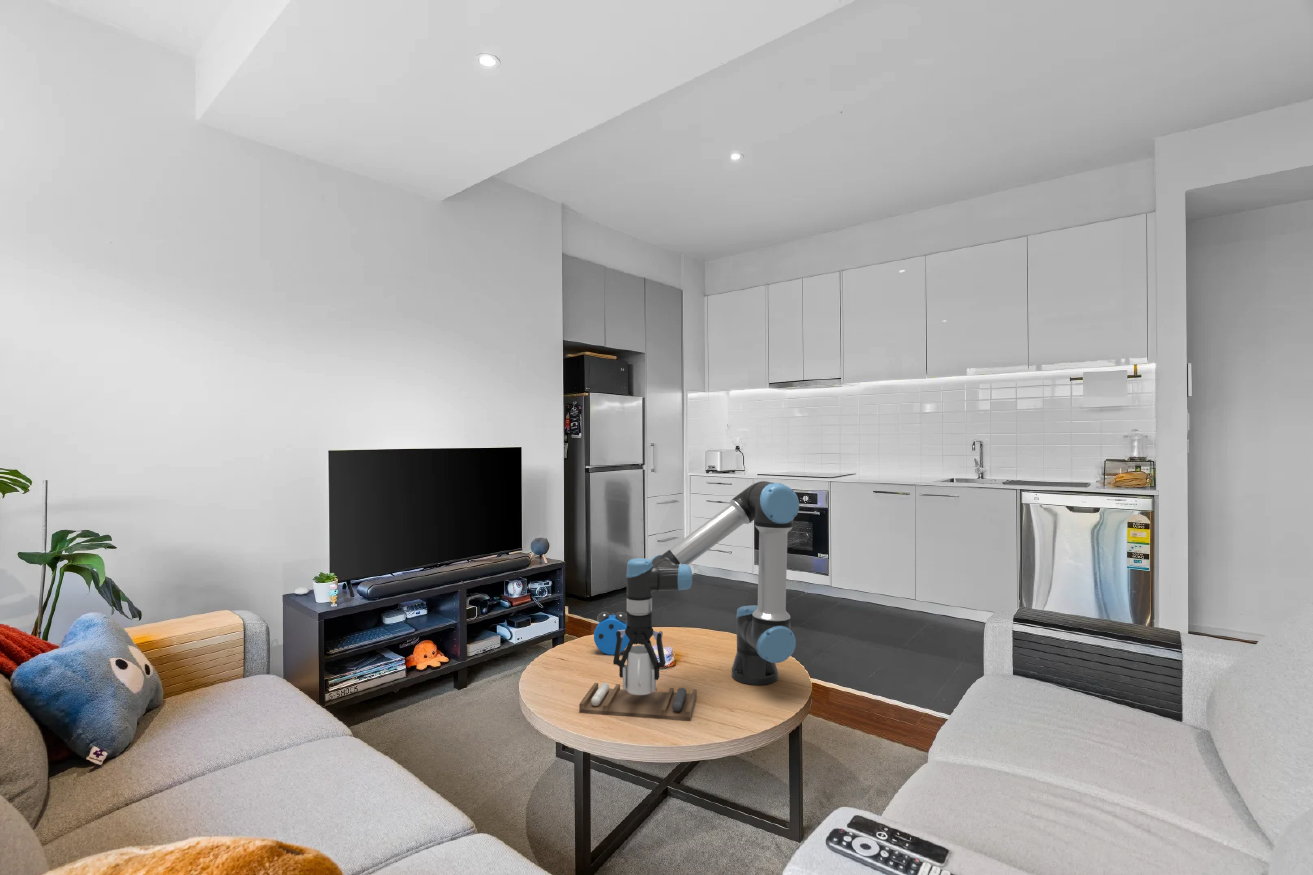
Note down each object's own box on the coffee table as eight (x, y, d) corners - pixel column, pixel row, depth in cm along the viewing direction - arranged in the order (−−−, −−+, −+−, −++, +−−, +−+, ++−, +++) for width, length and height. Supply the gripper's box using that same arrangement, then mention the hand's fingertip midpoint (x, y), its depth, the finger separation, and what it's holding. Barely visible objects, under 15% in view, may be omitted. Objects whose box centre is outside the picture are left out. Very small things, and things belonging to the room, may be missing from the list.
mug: (650, 700, 178) (650, 658, 178) (621, 698, 179) (621, 657, 179) (656, 684, 189) (656, 645, 189) (629, 683, 191) (629, 643, 191)
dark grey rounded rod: (687, 695, 188) (687, 686, 188) (681, 713, 176) (681, 703, 176) (677, 695, 189) (677, 685, 189) (671, 713, 176) (671, 703, 176)
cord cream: (610, 690, 192) (610, 681, 192) (599, 707, 180) (599, 698, 180) (601, 689, 193) (601, 680, 193) (590, 707, 180) (589, 697, 180)
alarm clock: (631, 650, 232) (631, 610, 232) (629, 656, 226) (628, 614, 226) (596, 649, 233) (596, 609, 234) (593, 655, 227) (593, 614, 227)
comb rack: (696, 697, 189) (696, 689, 189) (690, 720, 173) (690, 711, 173) (594, 690, 195) (594, 682, 195) (579, 712, 179) (579, 703, 179)
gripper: (676, 610, 186) (676, 686, 186) (608, 607, 190) (608, 682, 190) (672, 617, 179) (672, 696, 179) (601, 613, 182) (601, 691, 182)
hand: (639, 689), depth 184 cm, fingers closed on mug, 8 cm apart
